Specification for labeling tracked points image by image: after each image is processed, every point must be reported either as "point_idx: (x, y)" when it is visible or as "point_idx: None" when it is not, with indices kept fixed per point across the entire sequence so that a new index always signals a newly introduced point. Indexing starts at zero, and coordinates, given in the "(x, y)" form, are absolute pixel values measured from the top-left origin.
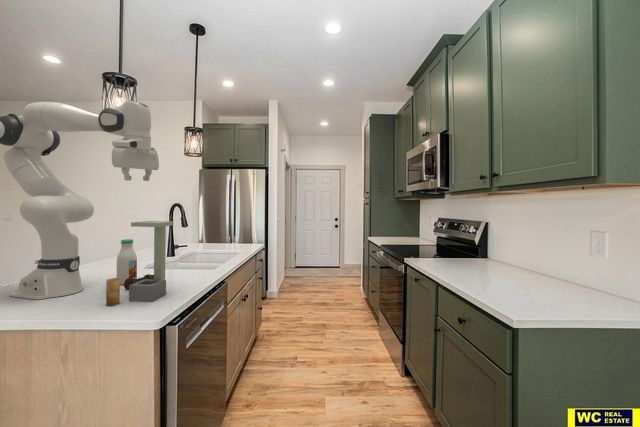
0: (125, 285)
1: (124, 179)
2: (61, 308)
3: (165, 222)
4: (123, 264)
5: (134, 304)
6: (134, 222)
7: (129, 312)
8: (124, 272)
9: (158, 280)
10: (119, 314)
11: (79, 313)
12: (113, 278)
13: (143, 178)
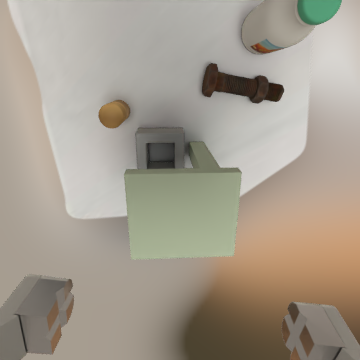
0: (207, 69)
1: (26, 276)
2: (81, 31)
3: (182, 257)
4: (258, 28)
5: (124, 148)
6: (130, 183)
7: (90, 164)
8: (251, 35)
9: (178, 166)
10: (79, 155)
11: (68, 88)
12: (118, 110)
13: (306, 320)
